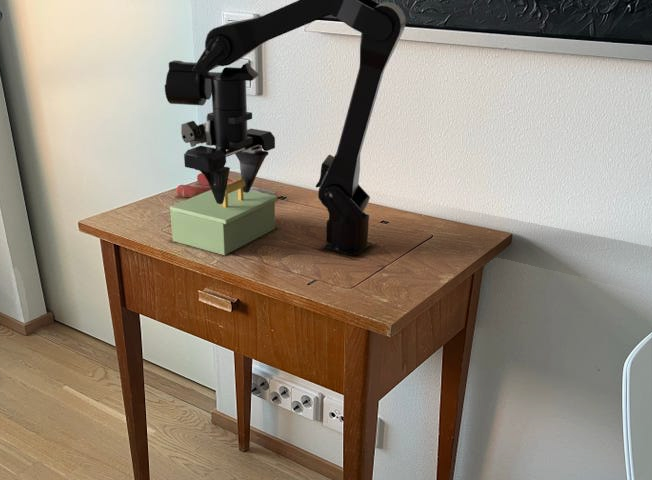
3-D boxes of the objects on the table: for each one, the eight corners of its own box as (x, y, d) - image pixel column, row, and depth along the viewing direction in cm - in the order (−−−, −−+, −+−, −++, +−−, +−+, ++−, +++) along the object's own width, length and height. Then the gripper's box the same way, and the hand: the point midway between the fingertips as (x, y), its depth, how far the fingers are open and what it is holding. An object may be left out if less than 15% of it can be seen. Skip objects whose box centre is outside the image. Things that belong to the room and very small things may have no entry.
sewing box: (275, 228, 137) (274, 199, 135) (224, 255, 126) (223, 223, 124) (224, 216, 143) (223, 188, 140) (172, 241, 132) (170, 210, 129)
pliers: (262, 209, 147) (262, 196, 145) (174, 197, 153) (173, 185, 152) (284, 193, 156) (284, 181, 154) (200, 182, 162) (199, 170, 161)
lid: (277, 199, 134) (277, 175, 132) (226, 224, 123) (224, 198, 121) (223, 188, 140) (222, 164, 138) (169, 210, 129) (167, 185, 127)
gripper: (225, 92, 132) (229, 177, 140) (155, 111, 119) (163, 204, 127) (276, 99, 127) (277, 187, 135) (208, 120, 114) (214, 216, 122)
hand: (233, 197), depth 130 cm, fingers open, 7 cm apart
